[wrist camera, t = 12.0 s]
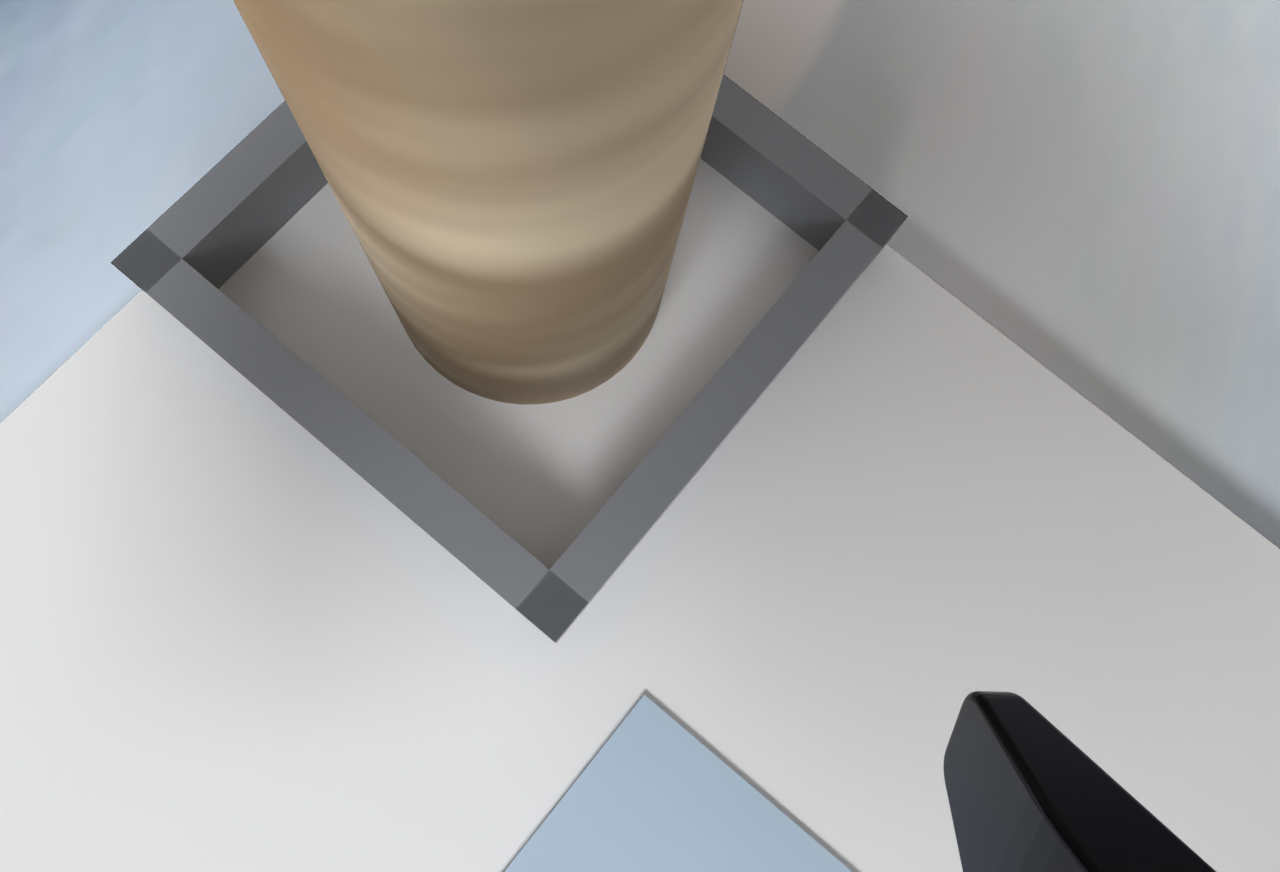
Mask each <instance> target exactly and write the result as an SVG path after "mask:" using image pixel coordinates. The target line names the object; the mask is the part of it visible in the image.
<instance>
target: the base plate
mask: <svg viewBox="0 0 1280 872" xmlns="http://www.w3.org/2000/svg"><path fill="white" fill-rule="evenodd" d="M907 217H908V216H907V215H905V214H904V213H903V212H902V211H900V210H899V209H898V208H896V207H895V206H894V205H892V204H891V203H890V202H889V201H887V200H886V199H885V198H883V197H882V196H881V195H879V194H878V193H877V192H876V191H874V190H873V189H872V188H870V187H869V186H868V185H866V184H865V183H864V182H863V181H861V180H860V179H859V178H857V177H856V176H855V175H854V174H852V173H851V172H850V171H848V170H847V169H846V168H844V167H843V166H842V165H841V164H839V163H838V162H837V161H835V160H834V159H833V158H831V157H830V156H829V155H828V154H826V153H825V152H824V151H822V150H821V149H820V148H818V147H817V146H816V145H815V144H813V143H812V142H811V141H809V140H808V139H807V138H806V137H804V136H803V135H802V134H800V133H799V132H798V131H796V130H795V129H794V128H793V127H791V126H790V125H789V124H787V123H786V122H785V121H783V120H782V119H781V118H780V117H778V116H777V115H776V114H774V113H773V112H772V111H770V110H769V109H768V108H767V107H765V106H764V105H763V104H761V103H760V102H759V101H758V100H756V99H755V98H753V97H752V96H751V95H750V94H748V93H747V92H746V91H745V90H743V89H742V88H740V87H739V86H738V85H737V84H735V83H734V82H733V81H732V80H730V79H729V78H728V77H726V76H725V75H724V74H723V77H722V81H721V84H720V88H719V92H718V95H717V99H716V103H715V106H714V110H713V114H712V117H711V121H710V124H709V128H708V132H707V135H706V139H705V143H704V146H703V150H702V154H701V157H700V161H699V165H698V168H697V172H696V176H695V179H694V183H693V186H692V190H691V194H690V197H689V201H688V205H687V208H686V212H685V216H684V219H683V223H682V227H681V230H680V234H679V238H678V241H677V245H676V249H675V252H674V256H673V259H672V263H671V267H670V270H669V274H668V278H667V281H666V285H665V289H664V292H663V296H662V300H661V303H660V307H659V311H658V314H657V317H656V320H655V322H654V325H653V327H652V330H651V332H650V333H649V335H648V337H647V339H646V341H645V342H644V344H643V346H642V347H641V348H640V350H639V351H638V352H637V354H636V355H635V356H634V358H633V359H632V360H631V361H630V362H629V363H628V364H627V365H626V366H625V367H624V368H623V369H622V370H621V371H620V372H618V373H617V374H616V375H614V376H613V377H612V378H610V379H609V380H608V381H607V382H605V383H603V384H601V385H600V386H598V387H596V388H594V389H593V390H591V391H588V392H586V393H583V394H581V395H579V396H576V397H573V398H570V399H566V400H562V401H559V402H553V403H546V404H529V405H520V404H512V403H503V402H499V401H495V400H491V399H487V398H484V397H481V396H479V395H476V394H473V393H471V392H468V391H466V390H465V389H463V388H461V387H459V386H457V385H455V384H454V383H452V382H451V381H449V380H448V379H446V378H445V377H444V376H442V375H441V374H440V373H438V372H437V371H436V370H435V369H434V368H433V367H432V366H431V365H430V364H429V363H428V362H427V361H426V360H425V359H424V358H423V357H422V355H421V354H420V353H419V352H418V350H417V349H416V348H415V346H414V345H413V343H412V341H411V340H410V338H409V336H408V335H407V333H406V331H405V329H404V327H403V325H402V324H401V322H400V320H399V318H398V316H397V314H396V312H395V310H394V308H393V306H392V304H391V302H390V300H389V299H388V297H387V295H386V293H385V291H384V289H383V287H382V285H381V283H380V281H379V279H378V277H377V276H376V274H375V272H374V270H373V268H372V266H371V264H370V262H369V260H368V258H367V256H366V254H365V252H364V251H363V249H362V247H361V245H360V243H359V241H358V239H357V237H356V235H355V233H354V231H353V229H352V227H351V226H350V224H349V222H348V220H347V218H346V216H345V214H344V212H343V210H342V208H341V206H340V204H339V202H338V201H337V199H336V197H335V195H334V193H333V191H332V189H331V187H330V185H329V183H328V181H327V179H326V177H325V176H324V174H323V172H322V170H321V168H320V166H319V164H318V162H317V160H316V158H315V156H314V154H313V153H312V151H311V149H310V147H309V145H308V143H307V141H306V139H305V137H304V135H303V133H302V131H301V129H300V128H299V126H298V124H297V122H296V120H295V118H294V116H293V114H292V112H291V110H290V108H289V106H288V104H287V103H286V101H284V102H283V103H282V104H281V105H280V106H279V107H278V108H277V109H276V110H275V111H273V112H272V113H271V114H270V115H269V116H268V117H267V118H266V119H265V120H264V121H263V122H262V123H261V124H259V125H258V126H257V127H256V128H255V129H254V130H253V131H252V132H251V133H250V134H249V135H248V136H247V137H245V138H244V139H243V140H242V141H241V142H240V143H239V144H238V145H237V146H236V147H235V148H234V149H233V150H231V151H230V152H229V153H228V154H227V155H226V156H225V157H224V158H223V159H222V160H221V161H220V162H219V163H217V164H216V165H215V166H214V167H213V168H212V169H211V170H210V171H209V172H208V173H207V174H206V175H205V176H203V177H202V178H201V179H200V180H199V181H198V182H197V183H196V184H195V185H194V186H193V187H192V188H191V189H189V190H188V191H187V192H186V193H185V194H184V195H183V196H182V197H181V198H180V199H179V200H178V201H177V202H175V203H174V204H173V205H172V206H171V207H170V208H169V209H168V210H167V211H166V212H165V213H164V214H163V215H161V216H160V217H159V218H158V219H157V220H156V221H155V222H154V223H153V224H152V225H151V226H150V227H149V228H147V229H146V230H145V231H144V232H143V233H142V234H141V235H140V236H139V237H138V238H137V239H136V240H135V241H133V242H132V243H131V244H130V245H129V246H128V247H127V248H126V249H125V250H124V251H123V252H122V253H121V254H119V255H118V256H117V257H116V258H115V259H114V260H113V261H112V262H111V263H112V264H113V265H114V266H115V267H116V268H118V269H119V270H120V271H121V272H122V273H123V274H125V275H126V276H127V277H128V278H129V279H130V280H132V281H133V282H134V283H135V284H136V285H137V286H139V287H140V288H141V289H142V290H141V291H140V292H139V293H138V294H137V295H136V296H135V297H133V298H132V299H131V300H130V301H129V302H128V303H127V304H126V305H125V306H124V307H123V308H122V309H121V310H120V311H119V312H118V313H117V314H116V315H114V316H113V317H112V318H111V319H110V320H109V321H108V322H107V323H106V324H105V325H104V326H103V327H102V328H101V329H100V330H99V331H98V332H96V333H95V334H94V335H93V336H92V337H91V338H90V339H89V340H88V341H87V342H86V343H85V344H84V345H83V346H82V347H81V348H80V349H79V350H77V351H76V352H75V353H74V354H73V355H72V356H71V357H70V358H69V359H68V360H67V361H66V362H65V363H64V364H63V365H62V366H61V367H59V368H58V369H57V370H56V371H55V372H54V373H53V374H52V375H51V376H50V377H49V378H48V379H47V380H46V381H45V382H44V383H43V384H42V385H40V386H39V387H38V388H37V389H36V390H35V391H34V392H33V393H32V394H31V395H30V396H29V397H28V398H27V399H26V400H25V401H24V402H22V403H21V404H20V405H19V406H18V407H17V408H16V409H15V410H14V411H13V412H12V413H11V414H10V415H9V416H8V417H7V418H6V419H5V420H3V421H2V422H1V423H0V872H963V870H962V865H961V860H960V855H959V850H958V845H957V840H956V835H955V830H954V825H953V820H952V815H951V810H950V805H949V800H948V795H947V790H946V785H945V780H944V770H943V765H944V755H945V751H946V748H947V745H948V742H949V739H950V736H951V734H952V731H953V728H954V725H955V723H956V720H957V717H958V714H959V712H960V709H961V706H962V703H963V701H964V699H965V697H966V696H967V695H968V694H970V693H971V692H974V691H996V692H1012V693H1015V694H1017V695H1019V696H1021V697H1022V698H1024V699H1025V700H1026V701H1027V702H1028V703H1030V704H1031V705H1032V706H1033V707H1034V708H1035V709H1036V710H1037V711H1038V712H1040V713H1041V714H1042V715H1043V716H1044V717H1045V718H1046V719H1047V720H1048V721H1050V722H1051V723H1052V724H1053V725H1054V726H1055V727H1056V728H1057V729H1058V730H1060V731H1061V732H1062V733H1063V734H1064V735H1065V736H1066V737H1067V738H1068V739H1070V740H1071V741H1072V742H1073V743H1074V744H1075V745H1076V746H1077V747H1079V748H1080V749H1081V750H1082V751H1083V752H1084V753H1085V754H1086V755H1087V756H1089V757H1090V758H1091V759H1092V760H1093V761H1094V762H1095V763H1096V764H1097V765H1099V766H1100V767H1101V768H1102V769H1103V770H1104V771H1105V772H1106V773H1107V774H1109V775H1110V776H1111V777H1112V778H1113V779H1114V780H1115V781H1116V782H1117V783H1119V784H1120V785H1121V786H1122V787H1123V788H1124V789H1125V790H1126V791H1127V792H1129V793H1130V794H1131V795H1132V796H1133V797H1134V798H1135V799H1136V800H1137V801H1139V802H1140V803H1141V804H1142V805H1143V806H1144V807H1145V808H1146V809H1147V810H1149V811H1150V812H1151V813H1152V814H1153V815H1154V816H1155V817H1156V818H1157V819H1159V820H1160V821H1161V822H1162V823H1163V824H1164V825H1165V826H1166V827H1167V828H1169V829H1170V830H1171V831H1172V832H1173V833H1174V834H1175V835H1176V836H1177V837H1179V838H1180V839H1181V840H1182V841H1183V842H1184V843H1185V844H1186V845H1187V846H1189V847H1190V848H1191V849H1192V850H1193V851H1194V852H1195V853H1196V854H1197V855H1199V856H1200V857H1201V858H1202V859H1203V860H1204V861H1205V862H1206V863H1207V864H1209V865H1210V866H1211V867H1212V868H1213V869H1214V870H1215V871H1216V872H1280V549H1279V548H1278V547H1277V546H1275V545H1274V544H1273V543H1271V542H1270V541H1269V540H1268V539H1266V538H1265V537H1264V536H1262V535H1261V534H1260V533H1259V532H1257V531H1256V530H1255V529H1253V528H1252V527H1251V526H1250V525H1248V524H1247V523H1246V522H1244V521H1243V520H1242V519H1241V518H1239V517H1238V516H1237V515H1235V514H1234V513H1233V512H1231V511H1230V510H1229V509H1228V508H1226V507H1225V506H1224V505H1222V504H1221V503H1220V502H1219V501H1217V500H1216V499H1215V498H1213V497H1212V496H1211V495H1210V494H1208V493H1207V492H1206V491H1204V490H1203V489H1202V488H1201V487H1199V486H1198V485H1197V484H1195V483H1194V482H1193V481H1192V480H1190V479H1189V478H1188V477H1186V476H1185V475H1184V474H1183V473H1181V472H1180V471H1179V470H1177V469H1176V468H1175V467H1173V466H1172V465H1171V464H1170V463H1168V462H1167V461H1166V460H1164V459H1163V458H1162V457H1161V456H1159V455H1158V454H1157V453H1155V452H1154V451H1153V450H1152V449H1150V448H1149V447H1148V446H1146V445H1145V444H1144V443H1143V442H1141V441H1140V440H1139V439H1137V438H1136V437H1135V436H1134V435H1132V434H1131V433H1130V432H1128V431H1127V430H1126V429H1125V428H1123V427H1122V426H1121V425H1119V424H1118V423H1117V422H1115V421H1114V420H1113V419H1112V418H1110V417H1109V416H1108V415H1106V414H1105V413H1104V412H1103V411H1101V410H1100V409H1099V408H1097V407H1096V406H1095V405H1094V404H1092V403H1091V402H1090V401H1088V400H1087V399H1086V398H1085V397H1083V396H1082V395H1081V394H1079V393H1078V392H1077V391H1076V390H1074V389H1073V388H1072V387H1070V386H1069V385H1068V384H1067V383H1065V382H1064V381H1063V380H1061V379H1060V378H1059V377H1057V376H1056V375H1055V374H1054V373H1052V372H1051V371H1050V370H1048V369H1047V368H1046V367H1045V366H1043V365H1042V364H1041V363H1039V362H1038V361H1037V360H1036V359H1034V358H1033V357H1032V356H1030V355H1029V354H1028V353H1027V352H1025V351H1024V350H1023V349H1021V348H1020V347H1019V346H1018V345H1016V344H1015V343H1014V342H1012V341H1011V340H1010V339H1009V338H1007V337H1006V336H1005V335H1003V334H1002V333H1001V332H999V331H998V330H997V329H996V328H994V327H993V326H992V325H990V324H989V323H988V322H987V321H985V320H984V319H983V318H981V317H980V316H979V315H978V314H976V313H975V312H974V311H972V310H971V309H970V308H969V307H967V306H966V305H965V304H963V303H962V302H961V301H960V300H958V299H957V298H956V297H954V296H953V295H952V294H951V293H949V292H948V291H947V290H945V289H944V288H943V287H941V286H940V285H939V284H938V283H936V282H935V281H934V280H932V279H931V278H930V277H929V276H927V275H926V274H925V273H923V272H922V271H921V270H920V269H918V268H917V267H916V266H914V265H913V264H912V263H911V262H909V261H908V260H907V259H905V258H904V257H903V256H902V255H900V254H899V253H898V252H896V251H895V250H894V249H893V248H891V247H890V246H889V245H887V242H888V241H889V240H890V239H891V237H892V236H893V235H894V233H895V232H896V231H897V230H898V228H899V227H900V226H901V224H902V223H903V222H904V221H905V219H906V218H907Z"/></svg>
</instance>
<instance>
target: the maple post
mask: <svg viewBox="0 0 1280 872" xmlns="http://www.w3.org/2000/svg"><path fill="white" fill-rule="evenodd" d="M233 1H234V3H235V5H236V6H237V8H238V10H239V12H240V14H241V16H242V18H243V20H244V22H245V24H246V26H247V28H248V30H249V31H250V33H251V35H252V37H253V39H254V41H255V43H256V45H257V47H258V49H259V51H260V53H261V55H262V56H263V58H264V60H265V62H266V64H267V66H268V68H269V70H270V72H271V74H272V76H273V78H274V79H275V81H276V83H277V85H278V87H279V89H280V91H281V93H282V95H283V97H284V99H285V101H286V103H287V104H288V106H289V108H290V110H291V112H292V114H293V116H294V118H295V120H296V122H297V124H298V126H299V128H300V129H301V131H302V133H303V135H304V137H305V139H306V141H307V143H308V145H309V147H310V149H311V151H312V153H313V154H314V156H315V158H316V160H317V162H318V164H319V166H320V168H321V170H322V172H323V174H324V176H325V177H326V179H327V181H328V183H329V185H330V187H331V189H332V191H333V193H334V195H335V197H336V199H337V201H338V202H339V204H340V206H341V208H342V210H343V212H344V214H345V216H346V218H347V220H348V222H349V224H350V226H351V227H352V229H353V231H354V233H355V235H356V237H357V239H358V241H359V243H360V245H361V247H362V249H363V251H364V252H365V254H366V256H367V258H368V260H369V262H370V264H371V266H372V268H373V270H374V272H375V274H376V276H377V277H378V279H379V281H380V283H381V285H382V287H383V289H384V291H385V293H386V295H387V297H388V299H389V300H390V302H391V304H392V306H393V308H394V310H395V312H396V314H397V316H398V318H399V320H400V322H401V324H402V325H403V327H404V329H405V331H406V333H407V335H408V336H409V338H410V340H411V341H412V343H413V345H414V346H415V348H416V349H417V350H418V352H419V353H420V354H421V355H422V357H423V358H424V359H425V360H426V361H427V362H428V363H429V364H430V365H431V366H432V367H433V368H434V369H435V370H436V371H437V372H438V373H440V374H441V375H442V376H444V377H445V378H446V379H448V380H449V381H451V382H452V383H454V384H455V385H457V386H459V387H461V388H463V389H465V390H466V391H468V392H471V393H473V394H476V395H479V396H481V397H484V398H487V399H491V400H495V401H499V402H503V403H512V404H520V405H529V404H546V403H553V402H559V401H562V400H566V399H570V398H573V397H576V396H579V395H581V394H583V393H586V392H588V391H591V390H593V389H594V388H596V387H598V386H600V385H601V384H603V383H605V382H607V381H608V380H609V379H610V378H612V377H613V376H614V375H616V374H617V373H618V372H620V371H621V370H622V369H623V368H624V367H625V366H626V365H627V364H628V363H629V362H630V361H631V360H632V359H633V358H634V356H635V355H636V354H637V352H638V351H639V350H640V348H641V347H642V346H643V344H644V342H645V341H646V339H647V337H648V335H649V333H650V332H651V330H652V327H653V325H654V322H655V320H656V317H657V314H658V311H659V307H660V303H661V300H662V296H663V292H664V289H665V285H666V281H667V278H668V274H669V270H670V267H671V263H672V259H673V256H674V252H675V249H676V245H677V241H678V238H679V234H680V230H681V227H682V223H683V219H684V216H685V212H686V208H687V205H688V201H689V197H690V194H691V190H692V186H693V183H694V179H695V176H696V172H697V168H698V165H699V161H700V157H701V154H702V150H703V146H704V143H705V139H706V135H707V132H708V128H709V124H710V121H711V117H712V114H713V110H714V106H715V103H716V99H717V95H718V92H719V88H720V84H721V81H722V77H723V73H724V70H725V66H726V62H727V59H728V55H729V51H730V48H731V44H732V41H733V36H734V33H735V30H736V26H737V22H738V19H739V15H740V11H741V8H742V4H743V0H233Z"/></svg>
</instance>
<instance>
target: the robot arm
mask: <svg viewBox="0 0 1280 872" xmlns="http://www.w3.org/2000/svg"><path fill="white" fill-rule="evenodd" d="M943 770H944V780H945V785H946V790H947V795H948V800H949V805H950V810H951V815H952V820H953V825H954V830H955V835H956V840H957V845H958V850H959V855H960V860H961V865H962V870H963V872H1216V871H1215V870H1214V869H1213V868H1212V867H1211V866H1210V865H1209V864H1207V863H1206V862H1205V861H1204V860H1203V859H1202V858H1201V857H1200V856H1199V855H1197V854H1196V853H1195V852H1194V851H1193V850H1192V849H1191V848H1190V847H1189V846H1187V845H1186V844H1185V843H1184V842H1183V841H1182V840H1181V839H1180V838H1179V837H1177V836H1176V835H1175V834H1174V833H1173V832H1172V831H1171V830H1170V829H1169V828H1167V827H1166V826H1165V825H1164V824H1163V823H1162V822H1161V821H1160V820H1159V819H1157V818H1156V817H1155V816H1154V815H1153V814H1152V813H1151V812H1150V811H1149V810H1147V809H1146V808H1145V807H1144V806H1143V805H1142V804H1141V803H1140V802H1139V801H1137V800H1136V799H1135V798H1134V797H1133V796H1132V795H1131V794H1130V793H1129V792H1127V791H1126V790H1125V789H1124V788H1123V787H1122V786H1121V785H1120V784H1119V783H1117V782H1116V781H1115V780H1114V779H1113V778H1112V777H1111V776H1110V775H1109V774H1107V773H1106V772H1105V771H1104V770H1103V769H1102V768H1101V767H1100V766H1099V765H1097V764H1096V763H1095V762H1094V761H1093V760H1092V759H1091V758H1090V757H1089V756H1087V755H1086V754H1085V753H1084V752H1083V751H1082V750H1081V749H1080V748H1079V747H1077V746H1076V745H1075V744H1074V743H1073V742H1072V741H1071V740H1070V739H1068V738H1067V737H1066V736H1065V735H1064V734H1063V733H1062V732H1061V731H1060V730H1058V729H1057V728H1056V727H1055V726H1054V725H1053V724H1052V723H1051V722H1050V721H1048V720H1047V719H1046V718H1045V717H1044V716H1043V715H1042V714H1041V713H1040V712H1038V711H1037V710H1036V709H1035V708H1034V707H1033V706H1032V705H1031V704H1030V703H1028V702H1027V701H1026V700H1025V699H1024V698H1022V697H1021V696H1019V695H1017V694H1015V693H1012V692H996V691H974V692H971V693H970V694H968V695H967V696H966V697H965V699H964V701H963V703H962V706H961V709H960V712H959V714H958V717H957V720H956V723H955V725H954V728H953V731H952V734H951V736H950V739H949V742H948V745H947V748H946V751H945V755H944V765H943Z"/></svg>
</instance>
